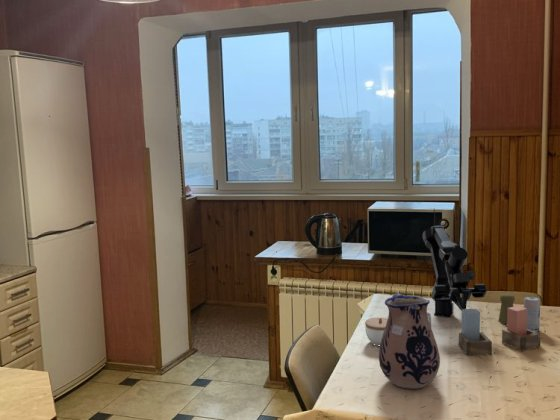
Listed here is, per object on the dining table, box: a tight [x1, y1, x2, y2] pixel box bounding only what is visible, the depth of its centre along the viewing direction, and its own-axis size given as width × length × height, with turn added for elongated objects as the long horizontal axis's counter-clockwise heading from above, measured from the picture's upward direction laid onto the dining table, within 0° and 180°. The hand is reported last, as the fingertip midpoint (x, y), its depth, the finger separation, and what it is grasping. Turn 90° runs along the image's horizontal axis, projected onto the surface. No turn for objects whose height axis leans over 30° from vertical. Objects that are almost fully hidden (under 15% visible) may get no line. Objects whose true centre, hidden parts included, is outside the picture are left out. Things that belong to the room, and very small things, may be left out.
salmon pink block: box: [506, 305, 527, 336], centre depth 191 cm, size 4×5×12 cm
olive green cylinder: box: [498, 293, 516, 325], centre depth 212 cm, size 6×6×11 cm
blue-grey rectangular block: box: [460, 308, 481, 341], centre depth 190 cm, size 4×5×12 cm
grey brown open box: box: [457, 331, 493, 357], centre depth 186 cm, size 9×8×4 cm
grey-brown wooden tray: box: [501, 328, 542, 352], centre depth 189 cm, size 9×8×4 cm
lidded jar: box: [364, 317, 388, 346], centre depth 195 cm, size 11×11×9 cm
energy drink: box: [523, 296, 541, 332], centre depth 202 cm, size 5×5×12 cm
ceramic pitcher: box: [378, 292, 441, 390], centre depth 163 cm, size 18×21×25 cm
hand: (464, 312), depth 196 cm, fingers closed
